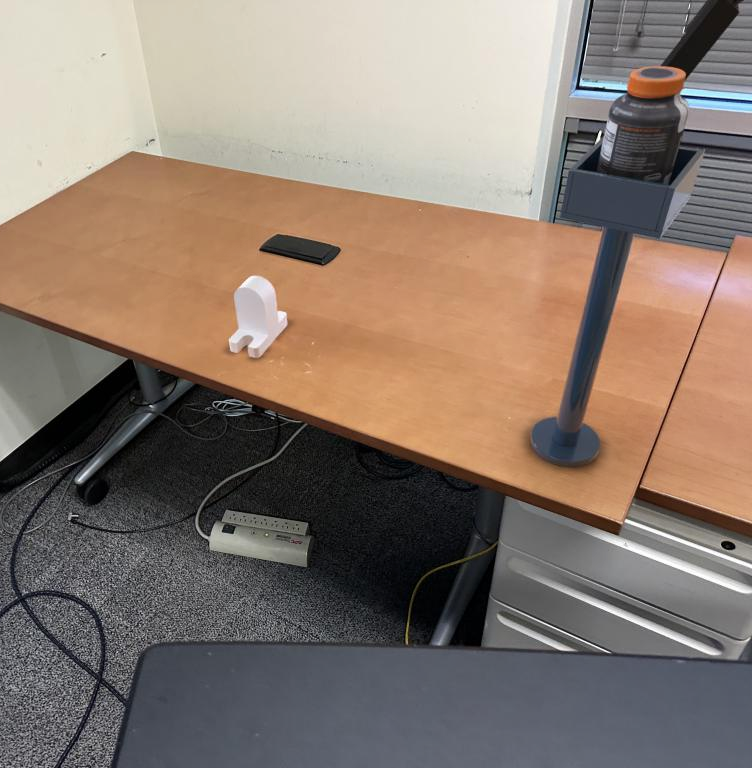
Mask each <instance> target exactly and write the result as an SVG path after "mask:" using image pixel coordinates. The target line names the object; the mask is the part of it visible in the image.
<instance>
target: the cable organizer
mask: <svg viewBox="0 0 752 768" xmlns="http://www.w3.org/2000/svg"><path fill="white" fill-rule="evenodd" d="M233 300H234V308H235V314H236V321H237V328H238V329H237V330H236V331H235V332H234V333H233V334H232V335H231V336H230V337H229V338H228V344H229V351H230V352H231V353H235V354H239V353H240V352H241V351H242V350H243V348H244V347H246V346H247V352H248V357H249V358H253V359H258V358H259V359H260V358H261V357H262V355H263V354H264V353H265V352H266V351H267V350H268V348H270V346H271V345H272V344H273V343H274V341H275V340H276V339H277V338H278V337H279V336H280V334H281V333H282V332H283V331H284V330H285V329H286V328H287V326H288V315H287V312H286V311H282V310H278V302H277V294H276V290H275V288H274V286H273V284H272V283H271V281H269V280H268V279H266V278H265V277H264V276H260V275H251V276H249V277H248V278H247V279H246V280H244V282H243V283H242V284H240V286H238V288H237V289H236V290H235V292H234V295H233Z"/></svg>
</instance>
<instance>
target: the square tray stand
mask: <svg viewBox="0 0 752 768" xmlns="http://www.w3.org/2000/svg"><path fill="white" fill-rule="evenodd" d="M603 139H604V135H603V136H602V137H600V139H599V140H598V141H597V142H596V143H595V144H594V145H593V146H592V147H591V148H590V149H589V150H588V151H586V153H584V154H583V156H581V158H579V160H577V161H576V162H575V163H574V164H573V165H572V166H571V167H570V168H569V169H568V171H567V176H566V181H565V187H564V192H563V197H562V202H561V207H560V213H559V219H564V220H569V221H573V222H578V223H582V224H589V225H593V226H598V227H601V231H600V232H601V233H600V235H599V236H600V237H599V241H598V245H597V249H596V254H595V257H594V262H593V266H592V270H591V274H590V278H589V283H588V287H587V291H586V295H585V300H584V304H583V308H582V310H581V311H582V312H581V316H580V321H579V324H578V328H577V332H576V337H575V341H574V345H573V349H572V354H571V358H570V361H569V365H568V370H567V374H566V379H565V383H564V387H563V391H562V395H561V399H560V404H559V408H558V412H557V416H550V417H547V418H544V419H541V420H539V421H538V422H536V424H534V425H533V427H532V429H531V432H530V436H529V437H530V440H529V441H530V446H531V448H532V450H533V451H534V452H535V454H536V455H538V457H540V458H541V459H543V460H545V461H546V462H548V463H550V464H553V465H555V466H559V467H565V468H578V467H583V466H586V465H588V464H590V463H592V462H593V461H595V459H596V458H598V457H597V456H598V455H599V451H600V449H601V440H600V437H599V436H598V434H597V432H596V431H595V430H594V429H593V428H592V427H591V426H590V425H588V424H586V423H584V420H585V417H586V413H587V409H588V406H589V402H590V398H591V395H592V392H593V387H594V384H595V380H596V377H597V373H598V371H599V366H600V362H601V359H602V356H603V351H604V347H605V344H606V340H607V338H608V337H607V336H608V333H609V331H610V326H611V322H612V318H613V315H614V311H615V308H616V304H617V301H618V297H619V293H620V290H621V286H622V282H623V278H624V275H625V273H626V272H625V271H626V267H627V263H628V261H629V257H630V254H631V253H630V252H631V249H632V246H633V242H634V239H635V236H636V235H640V236H644V237H650V238H654V239H661V238H662V236H663V235H664V234H665V232H667V230H668V228H669V227H670V226H671V224H672V223H673V222H674V221H675V220H676V218H677V217H678V215H679V214H680V212H681V211H682V210H683V208H684V207H685V205H686V204H687V203H688V202H689V200H690V199H691V196H692V193H693V190H694V187H695V183H696V180H697V177H698V174H699V171H700V168H701V165H702V161H703V158H704V155H705V152H706V150H705V149H699V148H693V147H687V146H681V145H680V146H679V150H678V153H677V156H676V160H675V164H674V167H673V170H672V174H671V177H670V181H669V184H668V185H666V184H661V183H655V182H649V181H643V180H637V179H631V178H625V177H619V176H614V175H608V174H602V173H596V172H597V167H598V162H599V158H600V153H601V148H602V144H603Z"/></svg>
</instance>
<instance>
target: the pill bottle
mask: <svg viewBox="0 0 752 768" xmlns="http://www.w3.org/2000/svg"><path fill="white" fill-rule="evenodd" d="M685 77H686V73H685V72H684V71H683V70H681V69H678V68H673V67H665V66H661V65H660V66H659V65H655V66H654V65H653V66H644V67H640V68H637V69H634V70H633V71H631V73H630V75H629V79H628V83H627V85H626V93H625V94H622V95H620V96H618V97H617V98H616V99H615V100H614V101H613V102H612V104H611V106H610V108H609V110H608V116H607V121H606V126H605V130H604V134H603V136H604V139H603V144H602V148H601V153H600V158H599V162H598V167H597V172H596V173H602V174H608V175H614V176H619V177H625V178H631V179H637V180H643V181H649V182H655V183H661V184H666V185H668V184H669V181H670V177H671V174H672V170H673V167H674V164H675V160H676V156H677V153H678V150H679V146H680V147H681V143H682V140H683V135H684V132H685V128H686V125H687V120H688V118H689V114H690V104H689V102H688V101H687V99H685V98H684V97H683V96H682V95H681V92H682V91H683V89H684V83H685V82H686V80H685Z"/></svg>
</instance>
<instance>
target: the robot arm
mask: <svg viewBox="0 0 752 768" xmlns="http://www.w3.org/2000/svg"><path fill="white" fill-rule="evenodd" d="M744 1H745V0H706V1H705V2H704V3H703V5H702V6H701V8H699V10H698V11H697V13H696V14H695V16H693V18H692V19H691V20H690V21H689V23H688V25H687V26H686V28H685V29H684V33H683V36H682V37H681V38H680V40H678V42H677V43H676V45H675V46H674V47H673V48H672V50H671V51H670V53H669V54H668V55H667V57H665V59H664V60H663V62H662V63H661V64H660V66H665V67H673V68H678V69H681V70H683V71H684V72H685V73H686V77H685V81H686V80H687V79H688V78H689V76H691V74H692V73H693V72H694V70H695V69H696V68H697V67H698V66H699V64H700V63H701V62H702V60H703V59H704V58H705V57H706V55H707V54H708V53H709V52H710V51H711V49H712V48H713V47H714V45H715V44H716V43H717V41H718V40H719V39H720V38H721V36H722V35H723V34H724V33H725V31H726V30H727V29H728V28H729V27H730V26H731V25H732V23H733V21H734V20H735V19H736V18H737V16H738V15H739V14H740V10H739V8H740V7H739V4H741V3H742V2H744Z"/></svg>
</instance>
